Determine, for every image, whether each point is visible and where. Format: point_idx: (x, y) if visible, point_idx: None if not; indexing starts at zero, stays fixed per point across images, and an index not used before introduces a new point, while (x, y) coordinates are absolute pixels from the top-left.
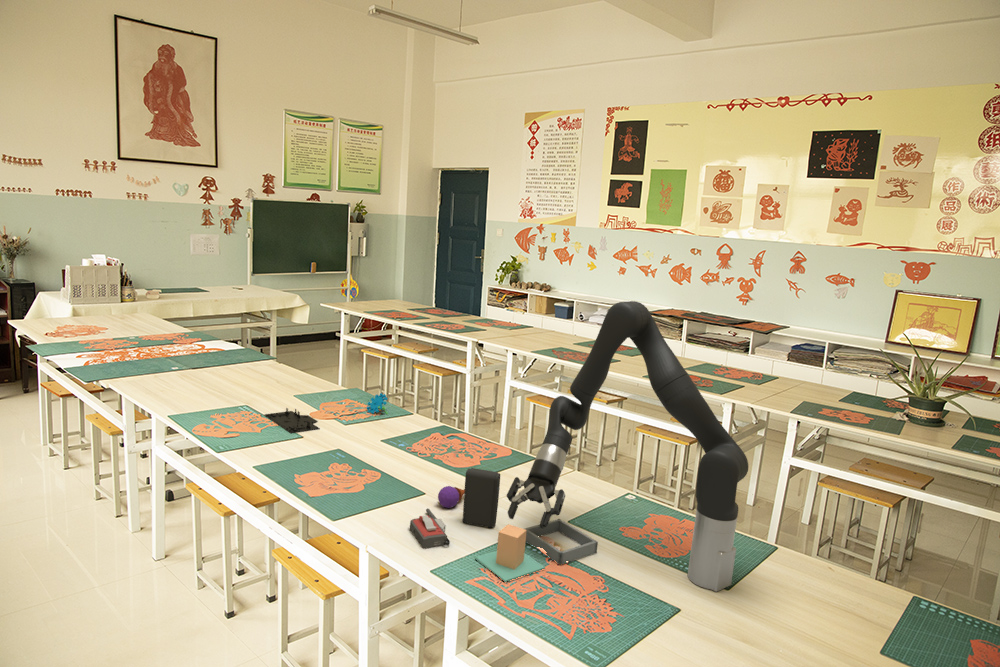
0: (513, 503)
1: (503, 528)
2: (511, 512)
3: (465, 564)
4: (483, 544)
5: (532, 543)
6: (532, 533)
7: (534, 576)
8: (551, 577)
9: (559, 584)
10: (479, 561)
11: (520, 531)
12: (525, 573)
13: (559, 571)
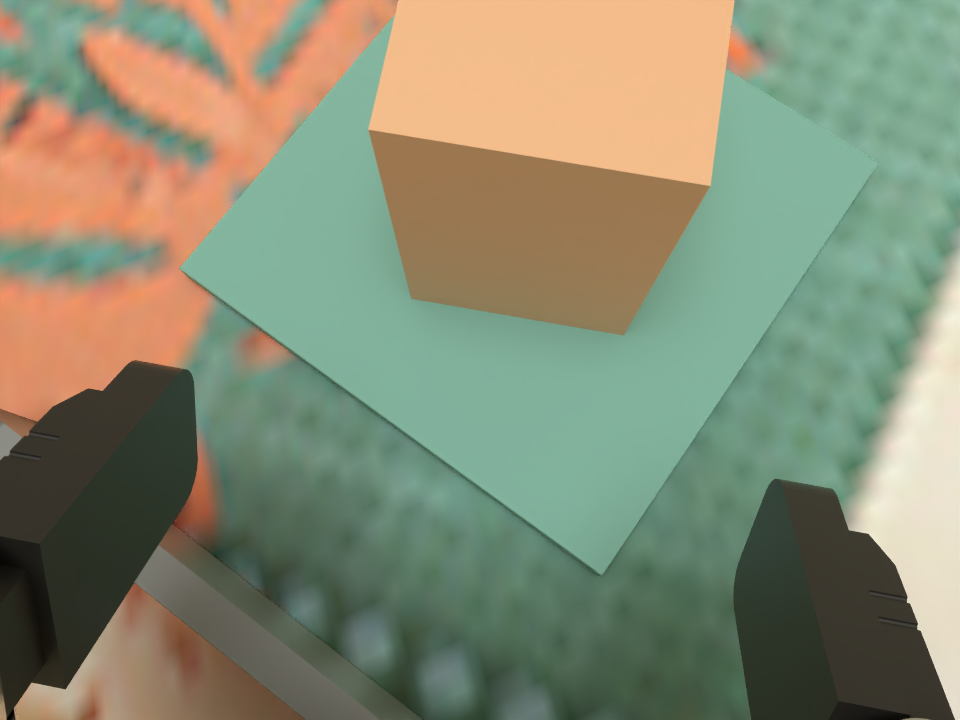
0: (890, 684)
1: (723, 21)
2: (801, 515)
3: (905, 62)
4: (927, 498)
5: (408, 714)
6: None
7: (261, 128)
8: (106, 175)
9: (22, 97)
10: (809, 128)
11: (447, 44)
12: (338, 88)
13: (42, 308)
